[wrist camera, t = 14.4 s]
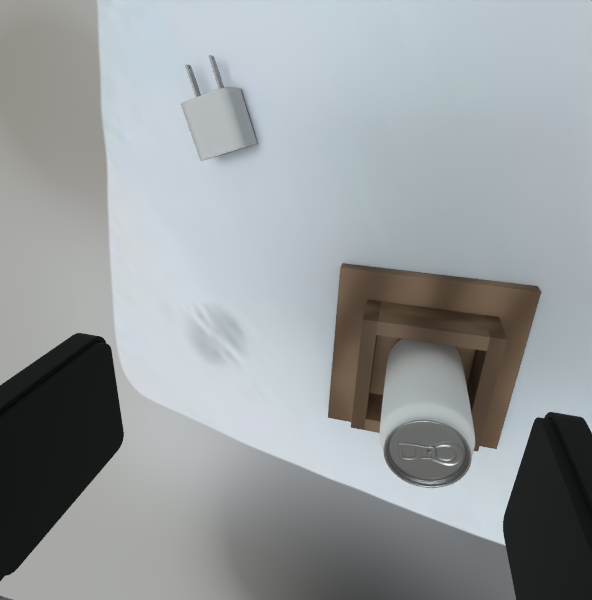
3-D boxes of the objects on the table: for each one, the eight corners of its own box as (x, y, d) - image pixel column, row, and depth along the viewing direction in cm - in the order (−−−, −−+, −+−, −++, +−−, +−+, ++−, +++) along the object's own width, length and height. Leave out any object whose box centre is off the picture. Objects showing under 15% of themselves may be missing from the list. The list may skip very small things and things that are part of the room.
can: (462, 393, 41) (478, 496, 31) (389, 392, 43) (380, 489, 32) (462, 329, 39) (479, 417, 28) (385, 330, 41) (373, 413, 30)
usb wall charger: (217, 156, 39) (197, 161, 36) (188, 70, 37) (164, 67, 34) (259, 142, 38) (243, 147, 35) (232, 53, 36) (211, 48, 32)
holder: (537, 286, 37) (554, 313, 33) (494, 440, 44) (503, 480, 39) (342, 263, 40) (332, 285, 36) (330, 410, 47) (320, 444, 42)
